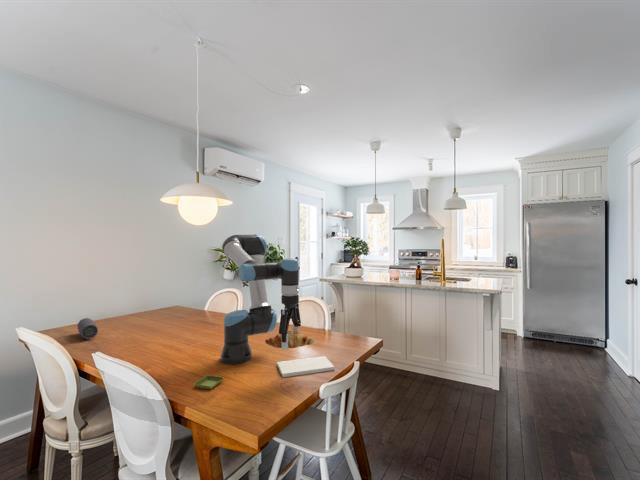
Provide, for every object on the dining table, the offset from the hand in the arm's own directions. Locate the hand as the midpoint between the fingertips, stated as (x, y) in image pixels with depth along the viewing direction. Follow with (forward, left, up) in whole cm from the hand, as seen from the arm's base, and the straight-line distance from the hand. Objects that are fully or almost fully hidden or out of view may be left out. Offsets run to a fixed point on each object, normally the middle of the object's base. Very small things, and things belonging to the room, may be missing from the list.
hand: (290, 345), depth 138 cm
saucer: (-34, +3, -14) cm, 37 cm away
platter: (+8, +7, -14) cm, 18 cm away
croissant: (0, 0, -1) cm, 1 cm away
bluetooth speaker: (-109, +98, -14) cm, 147 cm away
